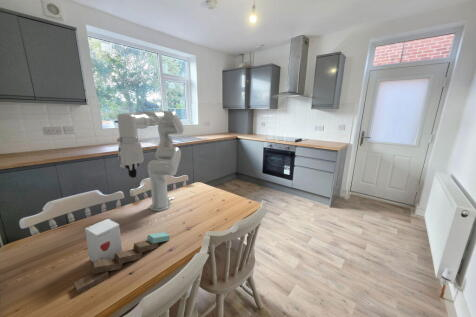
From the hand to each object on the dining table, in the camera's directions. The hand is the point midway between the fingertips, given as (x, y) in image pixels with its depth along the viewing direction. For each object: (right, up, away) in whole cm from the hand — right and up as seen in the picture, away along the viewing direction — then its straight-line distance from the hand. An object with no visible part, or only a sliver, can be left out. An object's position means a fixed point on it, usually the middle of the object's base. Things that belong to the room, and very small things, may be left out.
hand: (133, 176), depth 95 cm
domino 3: (+10, -32, -12) cm, 36 cm away
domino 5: (+17, -29, -1) cm, 34 cm away
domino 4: (+14, -30, -6) cm, 34 cm away
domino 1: (+2, -34, -22) cm, 41 cm away
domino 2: (+5, -33, -18) cm, 38 cm away
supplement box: (-4, -33, -14) cm, 36 cm away
